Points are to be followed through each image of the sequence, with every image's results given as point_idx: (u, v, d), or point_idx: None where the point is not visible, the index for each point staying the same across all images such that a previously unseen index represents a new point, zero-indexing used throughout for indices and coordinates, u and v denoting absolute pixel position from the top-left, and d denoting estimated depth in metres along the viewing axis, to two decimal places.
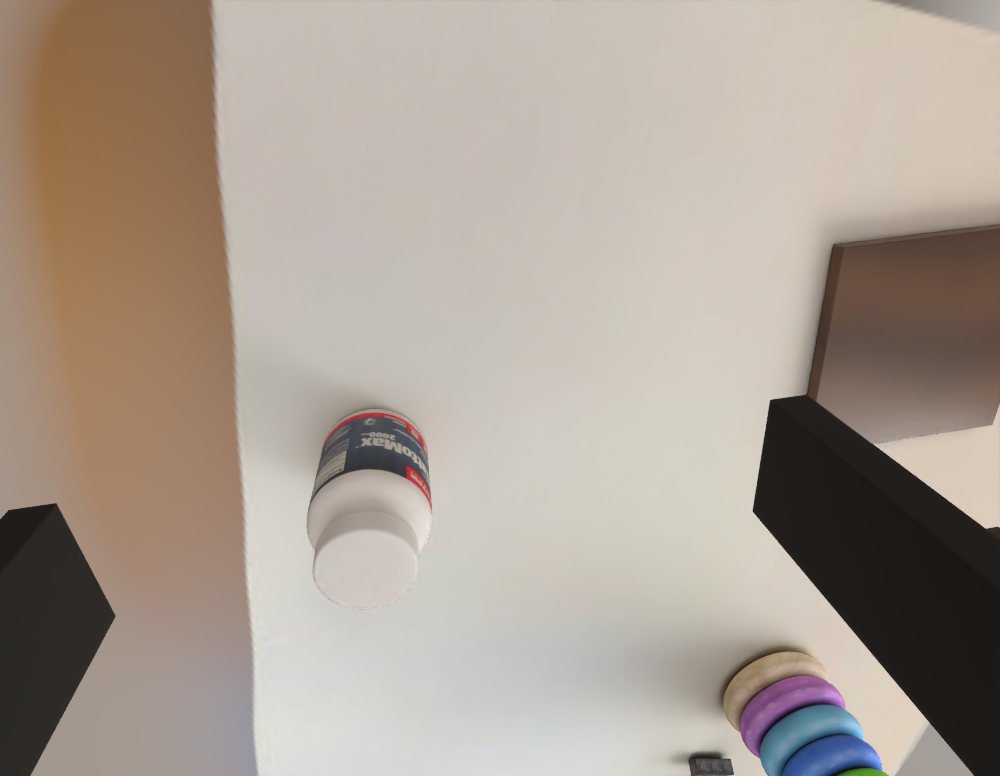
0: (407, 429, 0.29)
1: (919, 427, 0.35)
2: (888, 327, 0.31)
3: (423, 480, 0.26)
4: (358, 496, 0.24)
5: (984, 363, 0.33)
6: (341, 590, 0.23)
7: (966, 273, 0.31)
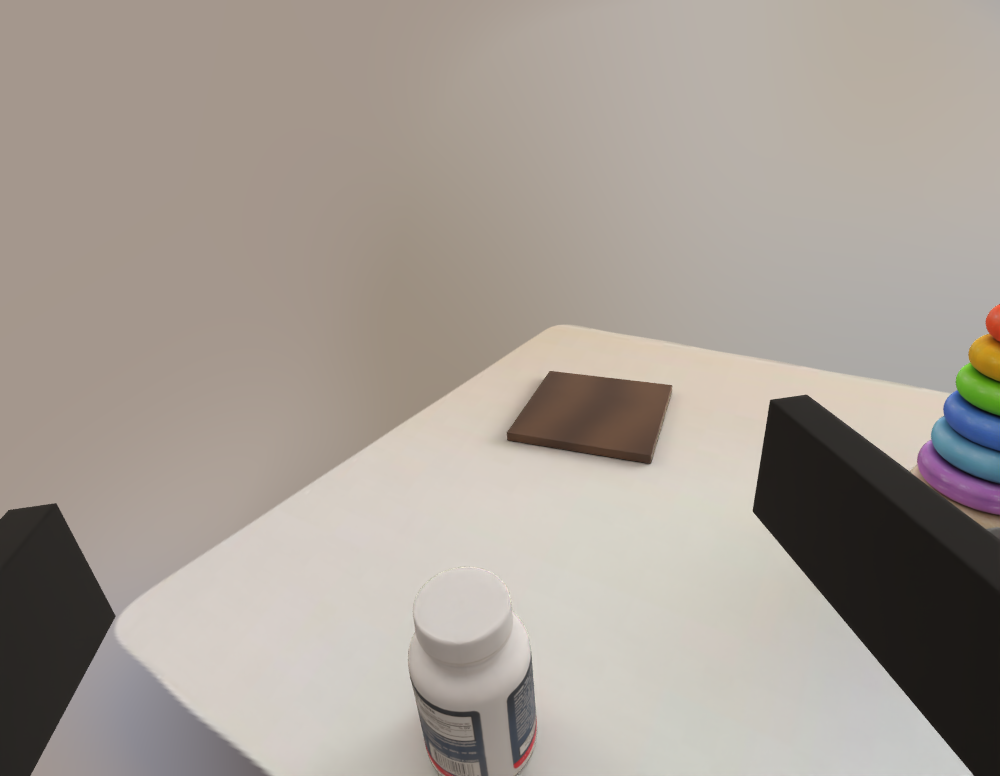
0: None
1: (656, 410, 0.52)
2: (570, 419, 0.51)
3: None
4: None
5: (621, 388, 0.55)
6: (466, 627, 0.23)
7: (556, 395, 0.55)
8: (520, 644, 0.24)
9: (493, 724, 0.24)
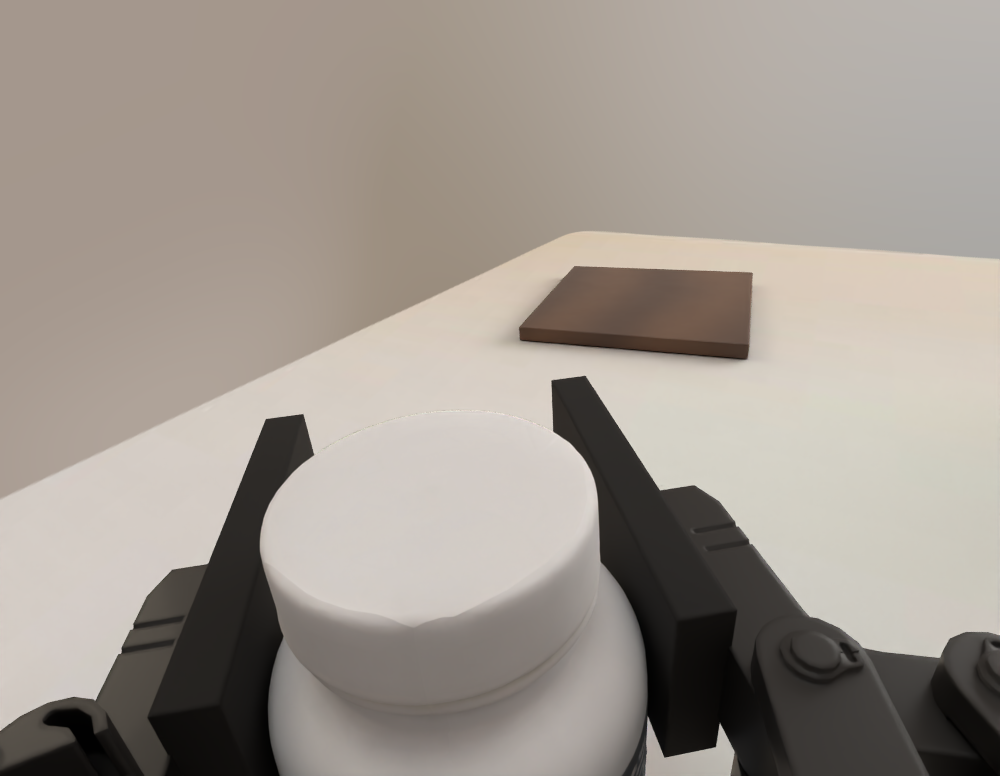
0: None
1: (738, 296, 0.35)
2: (613, 310, 0.34)
3: None
4: None
5: (680, 278, 0.39)
6: (445, 563, 0.06)
7: (587, 287, 0.38)
8: (621, 633, 0.08)
9: None
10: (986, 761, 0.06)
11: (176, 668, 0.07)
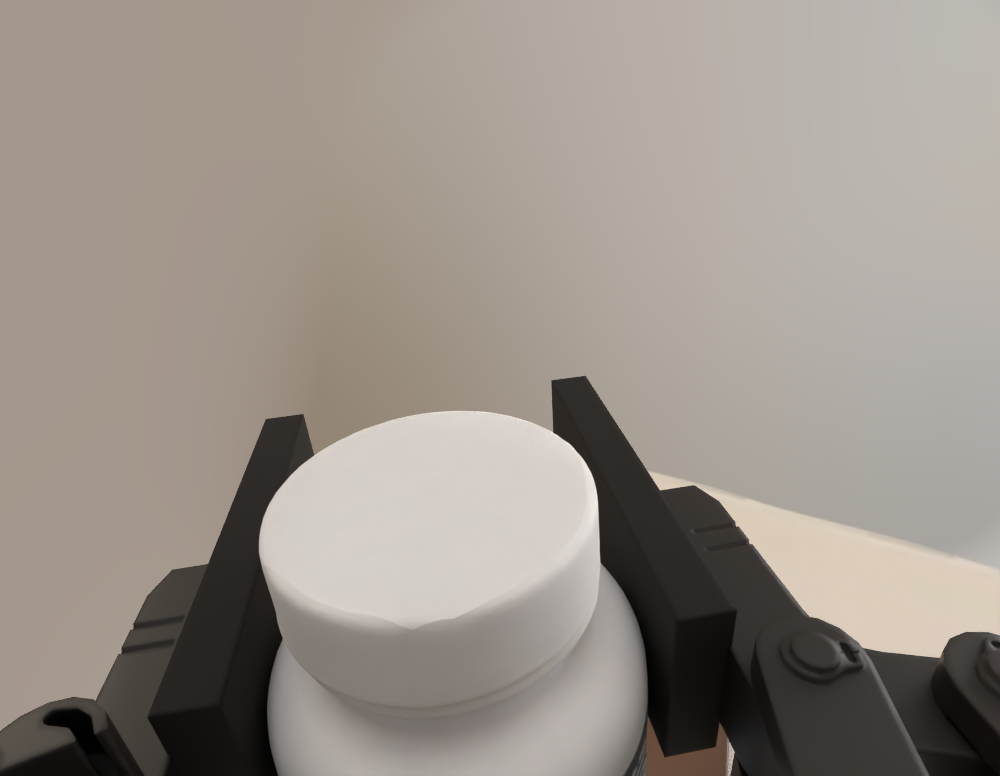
0: None
1: None
2: None
3: None
4: None
5: None
6: (444, 565, 0.06)
7: None
8: (621, 634, 0.08)
9: None
10: (987, 763, 0.06)
11: (176, 668, 0.07)
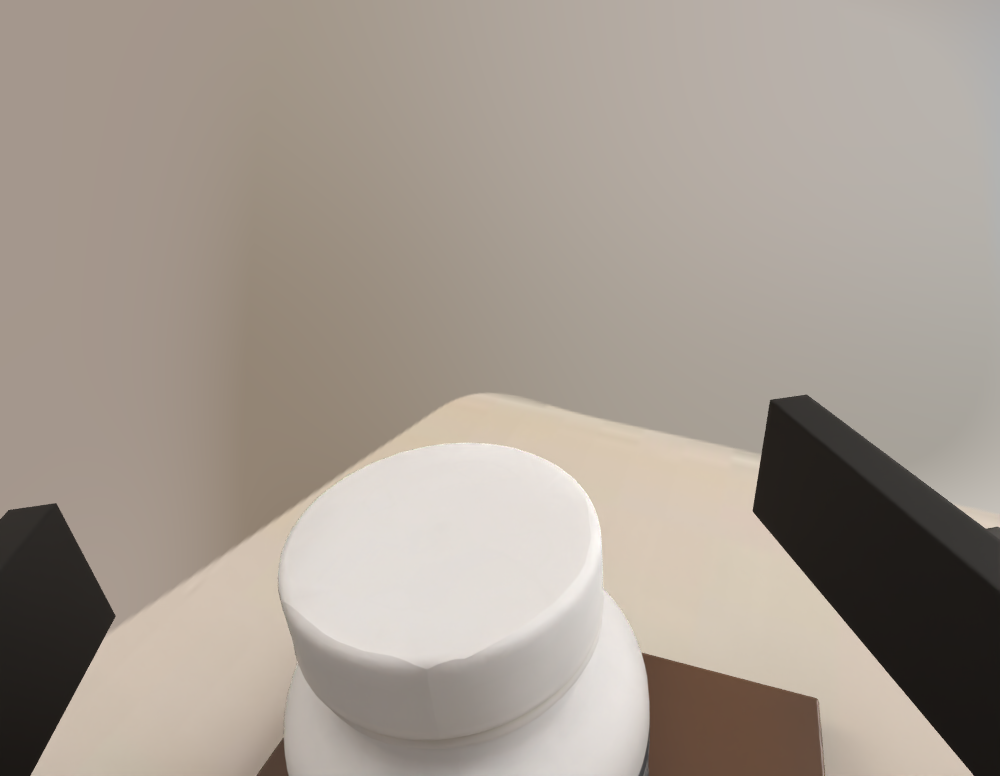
0: None
1: None
2: None
3: None
4: None
5: None
6: (455, 605, 0.06)
7: None
8: (624, 662, 0.08)
9: None
10: None
11: None
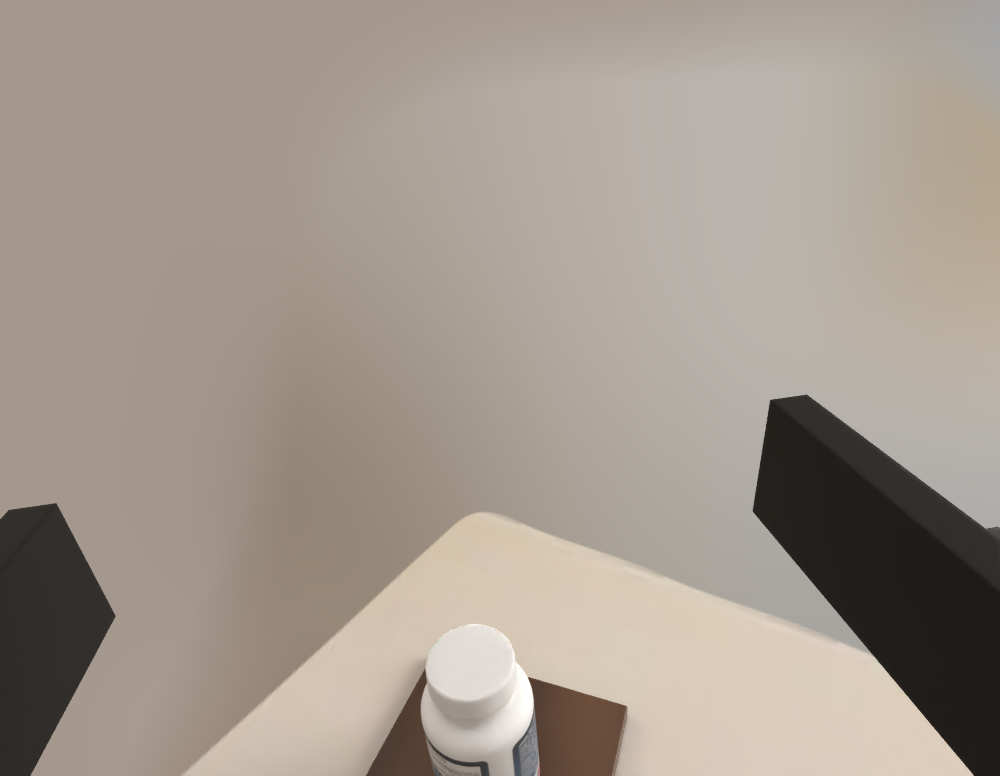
0: None
1: None
2: None
3: None
4: None
5: (542, 713, 0.33)
6: (475, 685, 0.25)
7: None
8: (524, 696, 0.27)
9: (500, 772, 0.26)
10: None
11: None
